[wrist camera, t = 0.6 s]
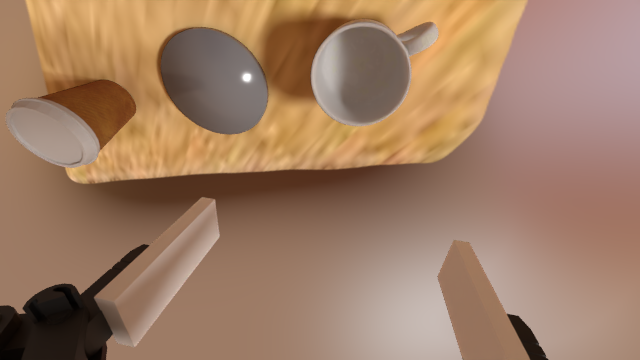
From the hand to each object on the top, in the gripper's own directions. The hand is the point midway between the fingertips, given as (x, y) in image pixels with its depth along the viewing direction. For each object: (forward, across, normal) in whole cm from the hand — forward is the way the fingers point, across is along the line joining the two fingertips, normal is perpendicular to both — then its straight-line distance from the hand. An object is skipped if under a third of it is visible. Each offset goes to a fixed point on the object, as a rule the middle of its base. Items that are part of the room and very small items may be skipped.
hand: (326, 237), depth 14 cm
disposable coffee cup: (+25, -37, -1) cm, 45 cm away
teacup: (+26, +1, +9) cm, 28 cm away
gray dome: (+26, -20, +2) cm, 33 cm away
